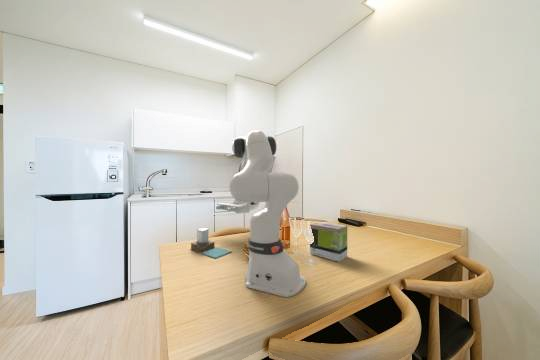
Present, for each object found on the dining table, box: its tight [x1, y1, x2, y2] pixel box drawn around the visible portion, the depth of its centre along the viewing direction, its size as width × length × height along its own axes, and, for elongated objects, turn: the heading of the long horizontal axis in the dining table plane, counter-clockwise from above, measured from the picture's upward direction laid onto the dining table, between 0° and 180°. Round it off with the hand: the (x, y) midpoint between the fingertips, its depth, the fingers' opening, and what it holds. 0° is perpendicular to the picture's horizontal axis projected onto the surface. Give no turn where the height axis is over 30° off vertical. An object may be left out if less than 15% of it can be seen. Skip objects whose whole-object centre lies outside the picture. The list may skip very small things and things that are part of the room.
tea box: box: [309, 221, 348, 263], centre depth 97 cm, size 15×10×15 cm
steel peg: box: [196, 227, 209, 245], centre depth 105 cm, size 4×4×10 cm
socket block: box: [190, 239, 215, 253], centre depth 105 cm, size 8×8×3 cm
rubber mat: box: [201, 246, 232, 259], centre depth 99 cm, size 10×10×1 cm
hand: (222, 208), depth 116 cm, fingers open, 8 cm apart
